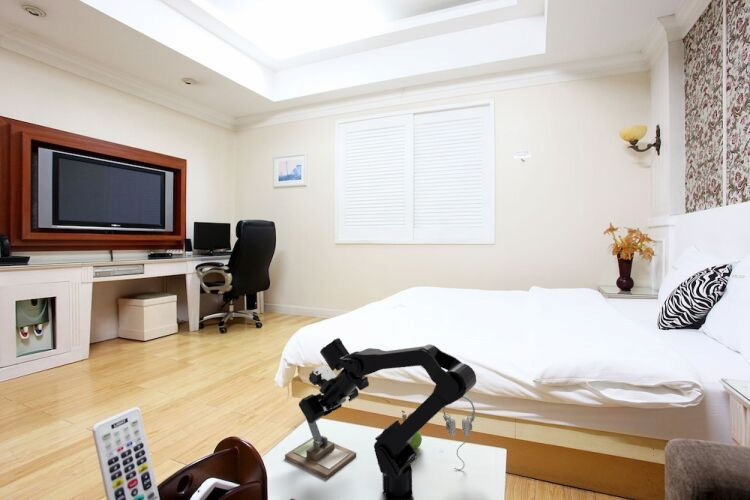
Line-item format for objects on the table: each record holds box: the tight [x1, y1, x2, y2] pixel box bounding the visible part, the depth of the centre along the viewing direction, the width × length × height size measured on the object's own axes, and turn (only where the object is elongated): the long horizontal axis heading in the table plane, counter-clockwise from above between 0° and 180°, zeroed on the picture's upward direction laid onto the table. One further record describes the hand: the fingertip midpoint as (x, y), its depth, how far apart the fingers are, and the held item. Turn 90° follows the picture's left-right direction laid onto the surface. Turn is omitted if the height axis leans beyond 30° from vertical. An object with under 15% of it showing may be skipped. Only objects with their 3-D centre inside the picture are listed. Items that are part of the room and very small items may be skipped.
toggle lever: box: [306, 419, 323, 445], centre depth 104 cm, size 3×3×12 cm
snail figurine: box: [401, 409, 423, 450], centre depth 106 cm, size 5×6×12 cm
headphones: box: [442, 394, 476, 471], centre depth 95 cm, size 8×4×20 cm, turn 85°
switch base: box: [284, 435, 357, 480], centre depth 102 cm, size 16×12×5 cm
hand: (315, 414), depth 103 cm, fingers closed
